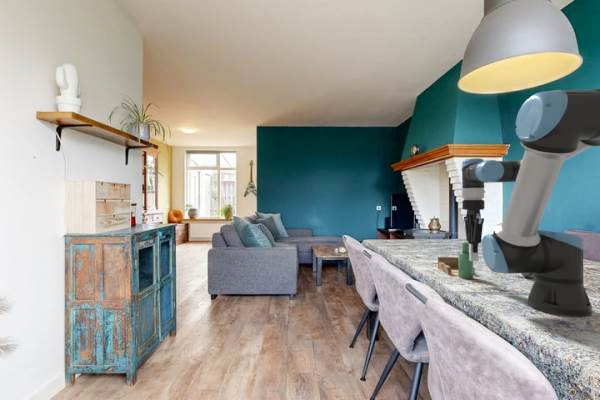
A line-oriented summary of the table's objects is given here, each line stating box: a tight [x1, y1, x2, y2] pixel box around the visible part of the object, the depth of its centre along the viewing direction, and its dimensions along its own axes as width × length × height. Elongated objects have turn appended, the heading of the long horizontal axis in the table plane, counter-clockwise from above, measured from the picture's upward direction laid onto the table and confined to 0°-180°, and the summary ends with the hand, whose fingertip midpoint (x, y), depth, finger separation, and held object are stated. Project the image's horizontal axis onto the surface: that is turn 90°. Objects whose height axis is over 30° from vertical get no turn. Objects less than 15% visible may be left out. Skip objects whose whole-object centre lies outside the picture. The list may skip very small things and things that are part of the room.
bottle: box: [457, 240, 474, 280], centre depth 135 cm, size 5×5×15 cm
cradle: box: [437, 256, 482, 280], centre depth 144 cm, size 22×11×6 cm, turn 174°
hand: (473, 260), depth 128 cm, fingers closed
